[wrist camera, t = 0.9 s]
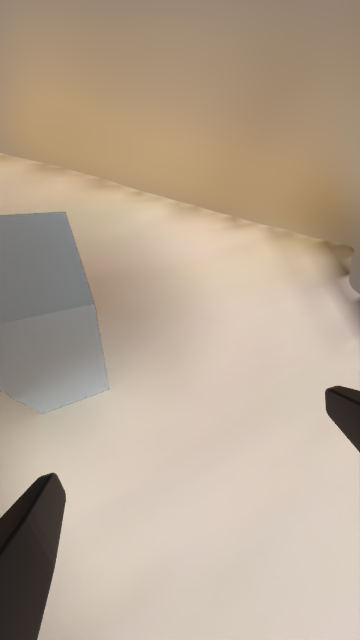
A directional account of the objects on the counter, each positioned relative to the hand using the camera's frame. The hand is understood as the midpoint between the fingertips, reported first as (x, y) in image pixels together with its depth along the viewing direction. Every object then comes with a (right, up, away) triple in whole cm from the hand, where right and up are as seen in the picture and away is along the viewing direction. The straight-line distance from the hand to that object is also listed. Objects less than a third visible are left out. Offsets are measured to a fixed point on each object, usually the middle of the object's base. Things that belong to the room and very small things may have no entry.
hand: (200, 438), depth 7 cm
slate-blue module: (-9, 0, +10) cm, 13 cm away
